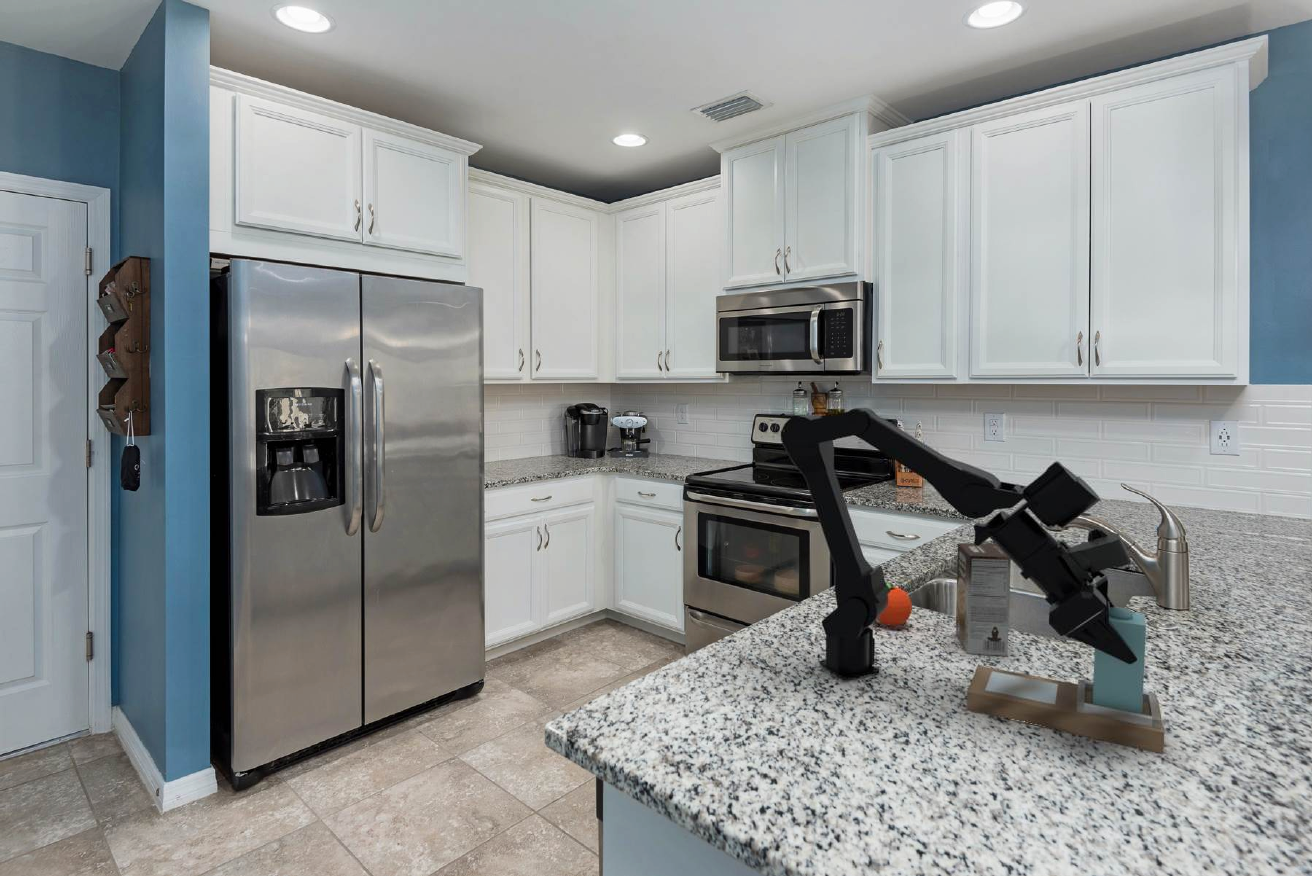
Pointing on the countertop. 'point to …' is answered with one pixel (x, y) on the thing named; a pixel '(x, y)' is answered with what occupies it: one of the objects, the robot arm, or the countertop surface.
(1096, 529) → the robot arm
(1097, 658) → the teal pillar
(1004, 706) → the walnut base plate
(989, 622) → the coffee box
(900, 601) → the clementine
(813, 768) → the countertop surface
